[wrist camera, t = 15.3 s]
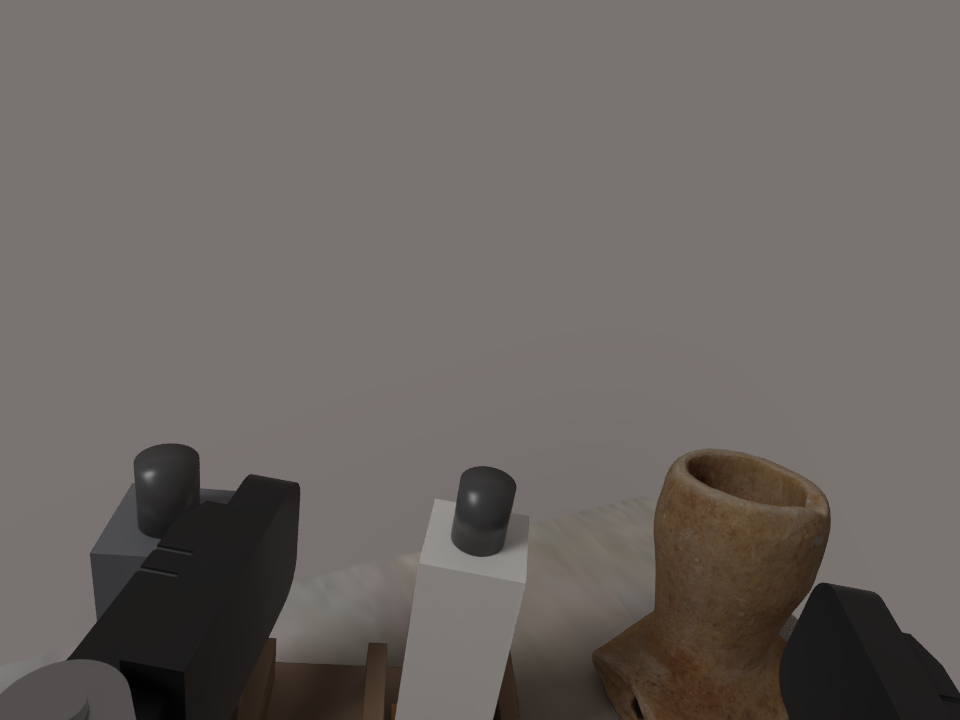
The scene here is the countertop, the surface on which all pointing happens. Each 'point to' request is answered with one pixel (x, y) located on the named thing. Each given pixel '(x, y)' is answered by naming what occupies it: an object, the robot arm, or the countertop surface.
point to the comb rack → (338, 690)
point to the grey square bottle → (147, 516)
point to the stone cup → (719, 591)
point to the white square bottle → (465, 602)
